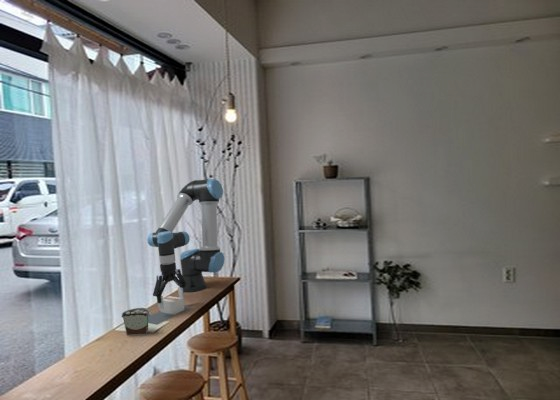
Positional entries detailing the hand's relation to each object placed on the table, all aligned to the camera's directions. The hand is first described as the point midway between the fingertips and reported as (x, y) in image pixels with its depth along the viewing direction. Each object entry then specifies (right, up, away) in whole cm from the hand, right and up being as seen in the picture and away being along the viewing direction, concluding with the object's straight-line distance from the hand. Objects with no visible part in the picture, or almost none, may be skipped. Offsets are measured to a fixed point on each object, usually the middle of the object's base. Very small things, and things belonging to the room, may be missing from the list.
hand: (171, 304), depth 196 cm
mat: (-2, -4, -3) cm, 5 cm away
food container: (-8, -6, -22) cm, 25 cm away
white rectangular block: (0, -3, 0) cm, 3 cm away
